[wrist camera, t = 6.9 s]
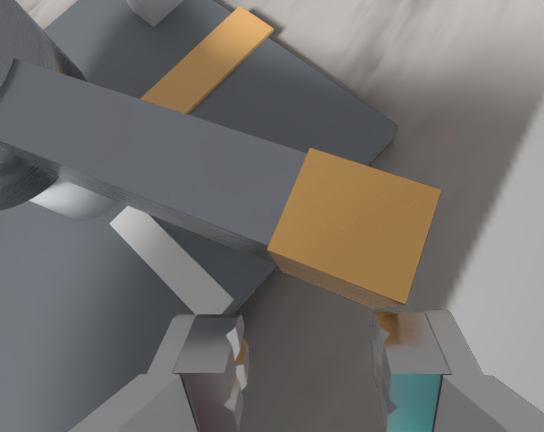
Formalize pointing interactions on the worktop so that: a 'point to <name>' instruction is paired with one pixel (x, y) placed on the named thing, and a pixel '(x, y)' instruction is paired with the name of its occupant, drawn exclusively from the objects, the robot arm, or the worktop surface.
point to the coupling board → (139, 225)
